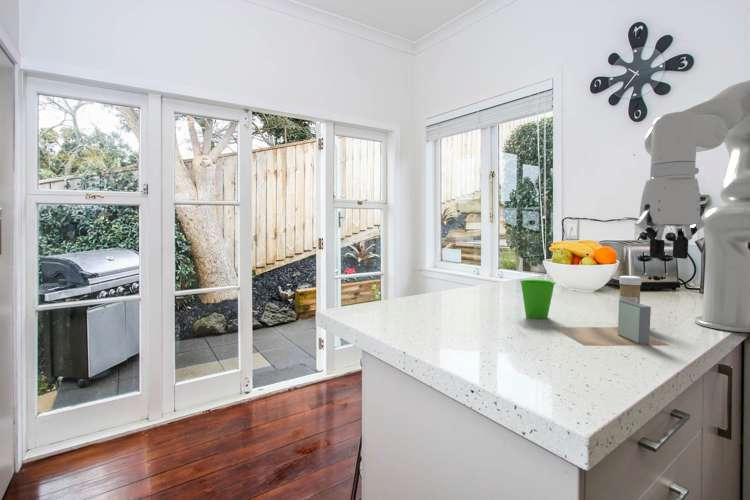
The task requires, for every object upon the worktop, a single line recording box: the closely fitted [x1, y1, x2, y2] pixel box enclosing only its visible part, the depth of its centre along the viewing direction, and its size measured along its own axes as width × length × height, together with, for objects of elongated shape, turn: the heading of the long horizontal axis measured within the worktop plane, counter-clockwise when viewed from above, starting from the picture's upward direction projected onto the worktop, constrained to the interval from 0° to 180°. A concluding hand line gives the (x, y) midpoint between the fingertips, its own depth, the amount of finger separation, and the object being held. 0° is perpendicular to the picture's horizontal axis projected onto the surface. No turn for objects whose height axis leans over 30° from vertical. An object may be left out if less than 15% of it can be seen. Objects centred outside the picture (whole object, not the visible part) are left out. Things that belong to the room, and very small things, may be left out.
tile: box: [617, 300, 652, 344], centre depth 81 cm, size 2×7×8 cm, turn 0°
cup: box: [519, 279, 556, 320], centre depth 102 cm, size 9×9×11 cm
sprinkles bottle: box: [618, 275, 642, 304], centre depth 94 cm, size 5×5×13 cm
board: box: [552, 326, 670, 346], centre depth 84 cm, size 18×14×1 cm
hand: (668, 257), depth 80 cm, fingers open, 4 cm apart
